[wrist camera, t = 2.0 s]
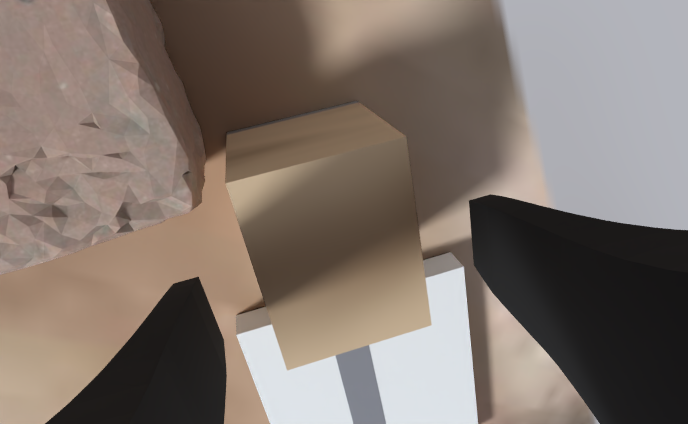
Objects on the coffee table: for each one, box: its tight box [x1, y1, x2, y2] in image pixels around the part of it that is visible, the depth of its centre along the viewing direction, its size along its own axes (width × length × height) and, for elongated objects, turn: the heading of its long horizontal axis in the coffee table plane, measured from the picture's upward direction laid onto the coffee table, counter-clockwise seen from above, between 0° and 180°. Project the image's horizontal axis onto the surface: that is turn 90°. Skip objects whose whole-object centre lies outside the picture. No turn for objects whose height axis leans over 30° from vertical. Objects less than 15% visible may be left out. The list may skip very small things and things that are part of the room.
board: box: [236, 252, 478, 424], centre depth 20 cm, size 11×9×1 cm
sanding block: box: [225, 101, 432, 370], centre depth 15 cm, size 6×4×5 cm
